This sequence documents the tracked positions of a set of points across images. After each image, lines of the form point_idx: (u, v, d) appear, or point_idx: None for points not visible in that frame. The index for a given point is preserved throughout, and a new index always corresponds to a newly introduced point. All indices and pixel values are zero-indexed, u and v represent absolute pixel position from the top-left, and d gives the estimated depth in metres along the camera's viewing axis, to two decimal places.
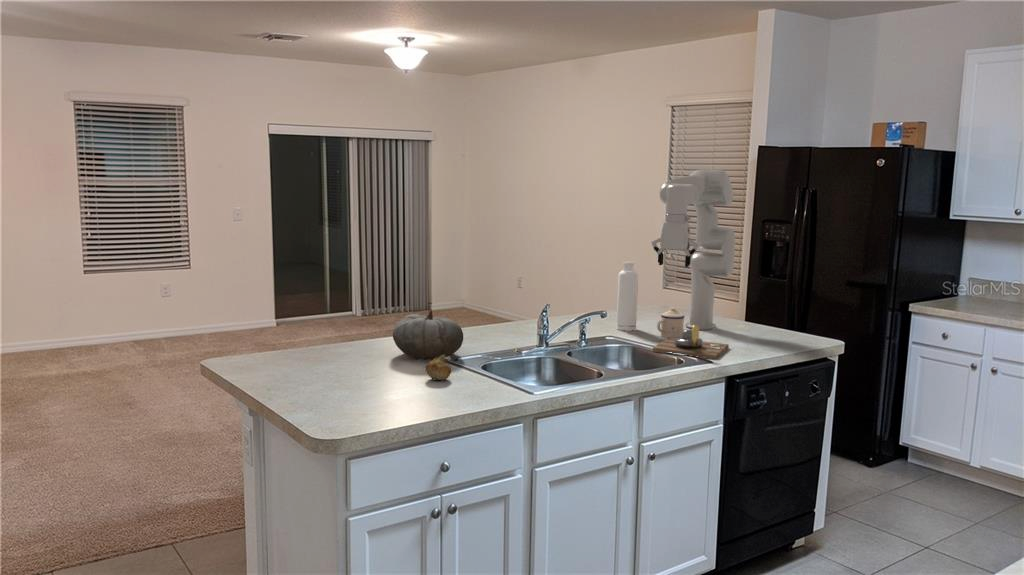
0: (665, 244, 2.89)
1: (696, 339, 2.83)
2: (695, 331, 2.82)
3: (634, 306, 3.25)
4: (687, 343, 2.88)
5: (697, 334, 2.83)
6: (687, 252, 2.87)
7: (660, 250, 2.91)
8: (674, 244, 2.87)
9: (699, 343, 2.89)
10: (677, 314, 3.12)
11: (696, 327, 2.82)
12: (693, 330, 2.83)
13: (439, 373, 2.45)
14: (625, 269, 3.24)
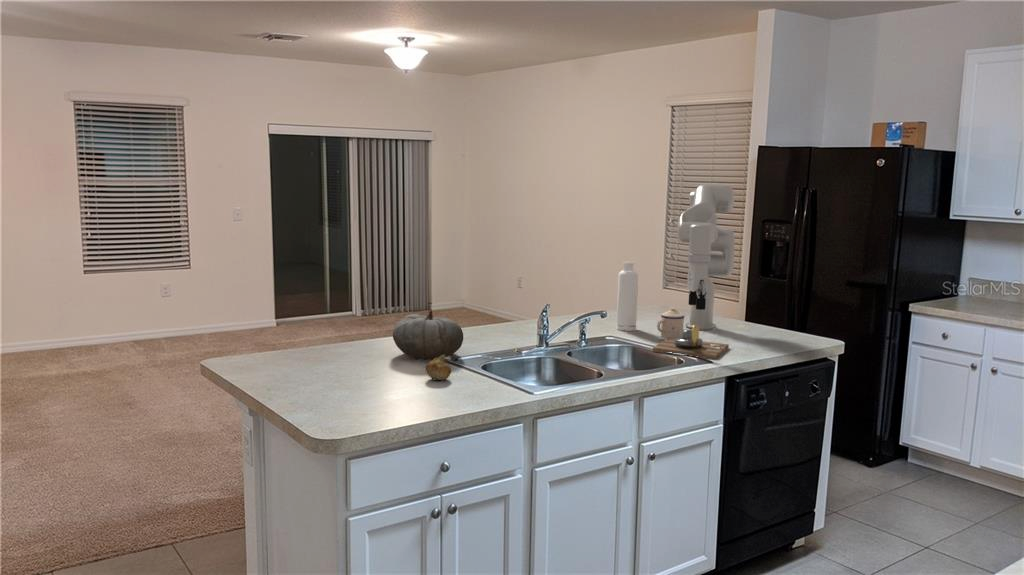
0: None
1: (696, 339, 2.83)
2: (695, 331, 2.82)
3: (634, 306, 3.25)
4: (687, 343, 2.88)
5: (697, 334, 2.83)
6: None
7: None
8: None
9: (699, 343, 2.89)
10: (677, 314, 3.12)
11: (696, 327, 2.82)
12: (693, 330, 2.83)
13: (439, 373, 2.45)
14: (625, 269, 3.24)
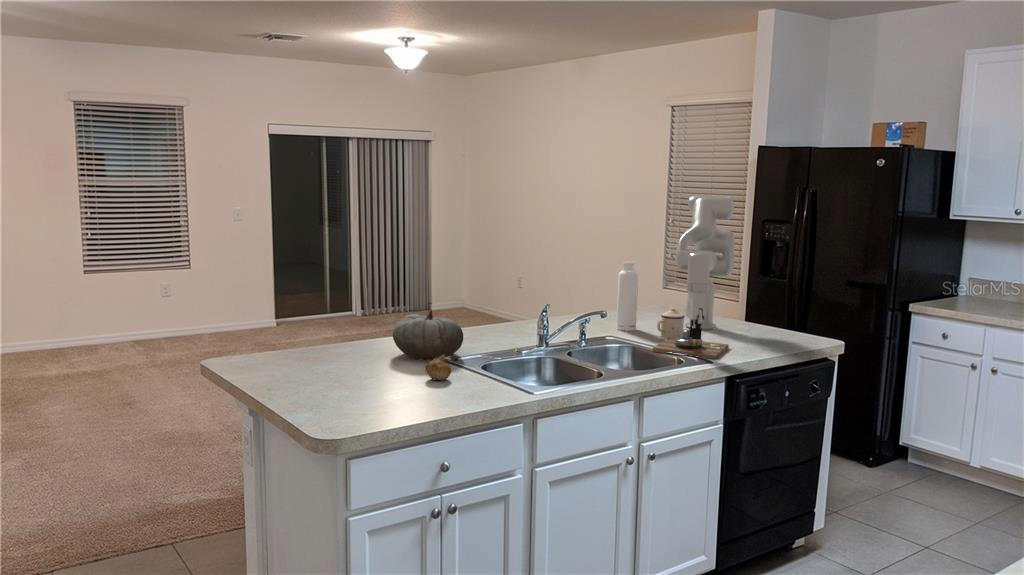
0: None
1: (696, 339, 2.83)
2: None
3: (634, 306, 3.25)
4: (687, 343, 2.88)
5: None
6: None
7: None
8: None
9: (699, 343, 2.89)
10: (677, 314, 3.12)
11: None
12: None
13: (439, 373, 2.45)
14: (625, 269, 3.24)
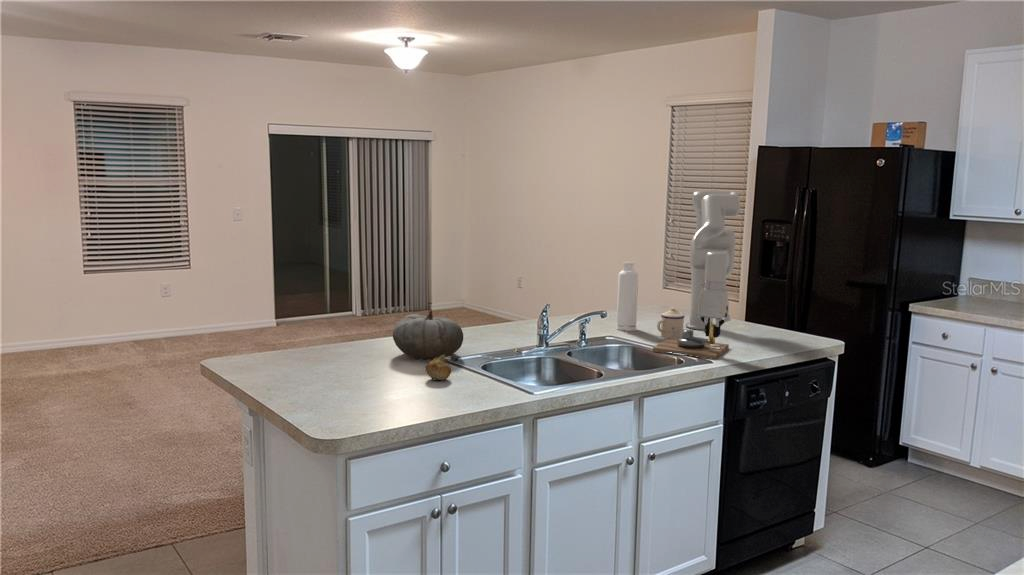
0: None
1: (714, 337, 2.86)
2: None
3: (634, 306, 3.25)
4: (699, 343, 2.89)
5: None
6: None
7: None
8: None
9: None
10: (677, 314, 3.12)
11: (715, 325, 2.85)
12: (712, 329, 2.85)
13: (439, 373, 2.45)
14: (625, 269, 3.24)
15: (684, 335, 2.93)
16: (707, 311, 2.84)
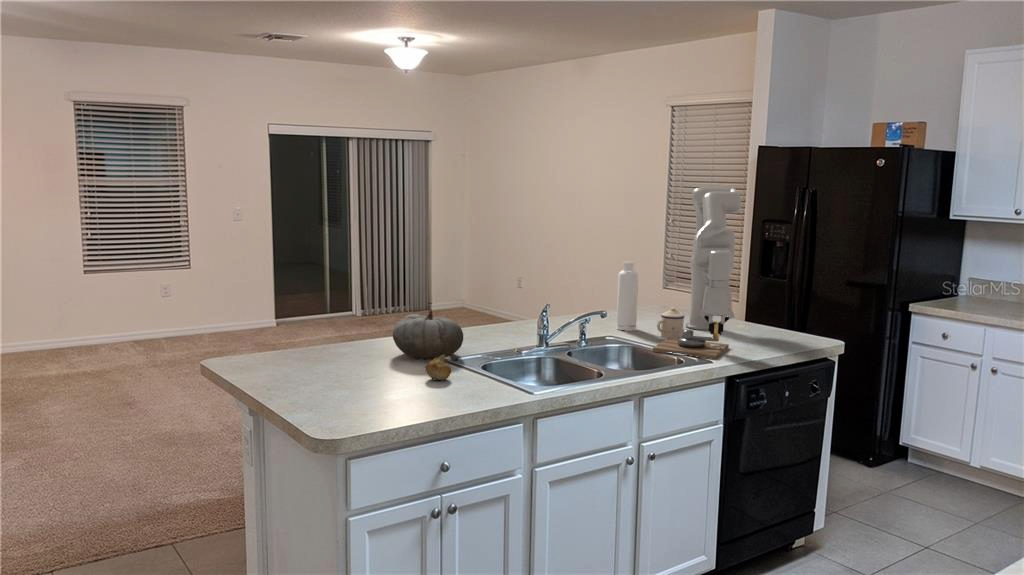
0: None
1: (718, 334, 2.91)
2: None
3: (634, 306, 3.25)
4: (704, 341, 2.91)
5: None
6: None
7: None
8: None
9: None
10: (677, 314, 3.12)
11: (719, 323, 2.90)
12: (718, 326, 2.90)
13: (439, 373, 2.45)
14: (625, 269, 3.24)
15: (687, 335, 2.92)
16: (714, 309, 2.88)
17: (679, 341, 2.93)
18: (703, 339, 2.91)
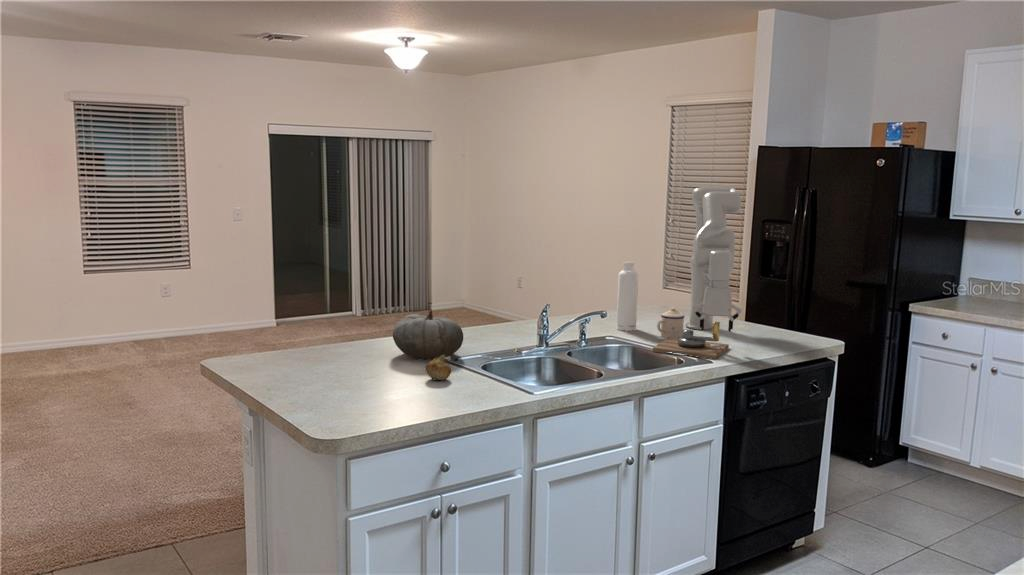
0: None
1: (718, 334, 2.91)
2: (719, 327, 2.90)
3: (634, 306, 3.25)
4: (704, 341, 2.91)
5: None
6: None
7: None
8: None
9: None
10: (677, 314, 3.12)
11: (719, 323, 2.90)
12: (718, 326, 2.90)
13: (439, 373, 2.45)
14: (625, 269, 3.24)
15: (687, 335, 2.92)
16: (714, 310, 2.88)
17: (679, 341, 2.93)
18: (703, 339, 2.91)
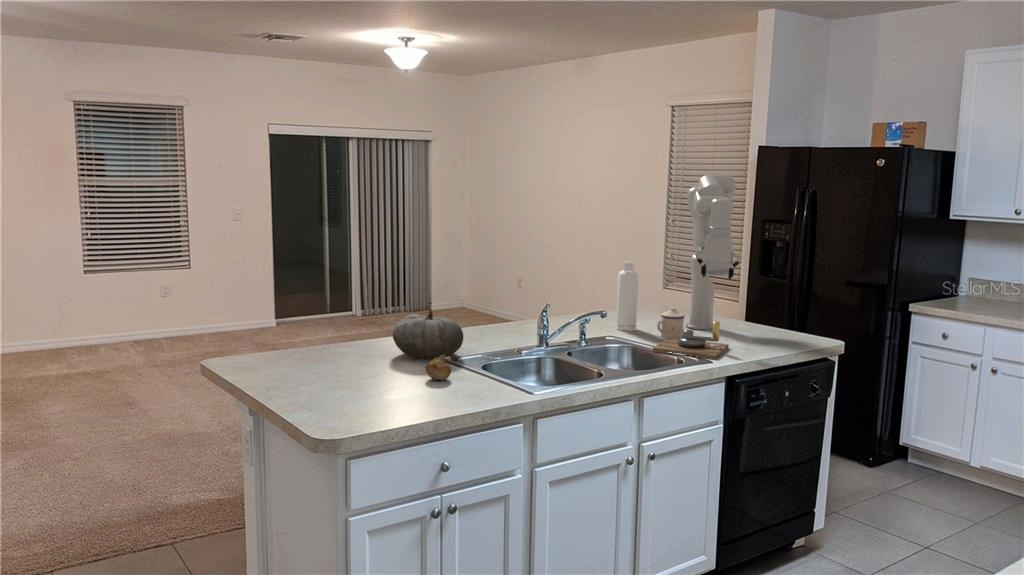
0: None
1: (718, 334, 2.91)
2: (719, 327, 2.90)
3: (634, 306, 3.25)
4: (704, 341, 2.91)
5: None
6: None
7: None
8: None
9: None
10: (677, 314, 3.12)
11: (719, 323, 2.90)
12: (718, 326, 2.90)
13: (439, 373, 2.45)
14: (625, 269, 3.24)
15: (687, 335, 2.92)
16: (713, 256, 2.95)
17: (679, 341, 2.93)
18: (703, 339, 2.91)
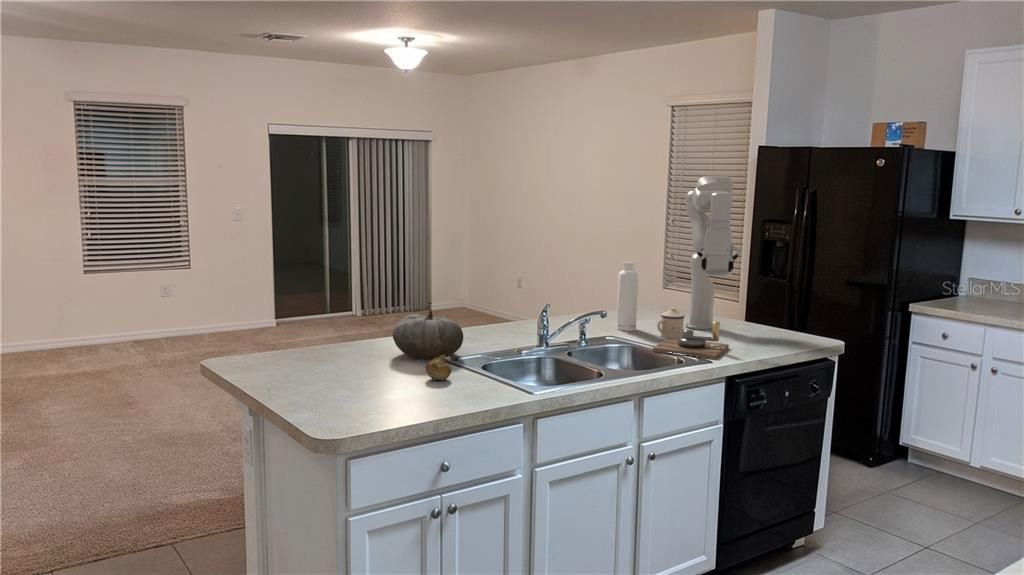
0: None
1: (718, 334, 2.91)
2: (719, 327, 2.90)
3: (634, 306, 3.25)
4: (704, 341, 2.91)
5: None
6: None
7: None
8: None
9: None
10: (677, 314, 3.12)
11: (719, 323, 2.90)
12: (718, 326, 2.90)
13: (439, 373, 2.45)
14: (625, 269, 3.24)
15: (687, 335, 2.92)
16: (713, 249, 2.98)
17: (679, 341, 2.93)
18: (703, 339, 2.91)
